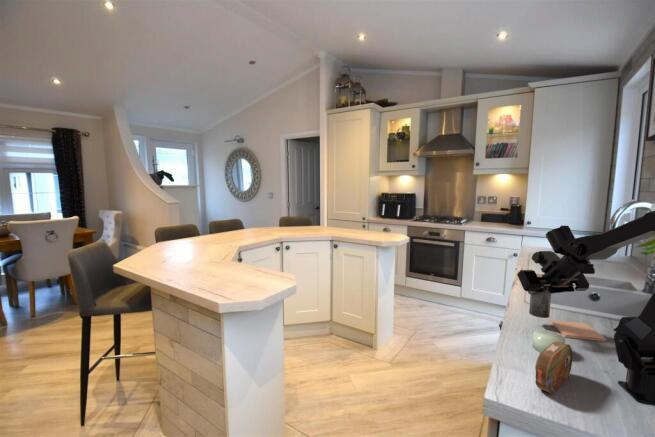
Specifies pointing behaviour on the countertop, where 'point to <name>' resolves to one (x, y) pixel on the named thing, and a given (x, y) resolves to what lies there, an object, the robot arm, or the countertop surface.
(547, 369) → the tin
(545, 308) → the canister
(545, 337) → the pale green rounded piece
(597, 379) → the countertop surface
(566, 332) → the plate
